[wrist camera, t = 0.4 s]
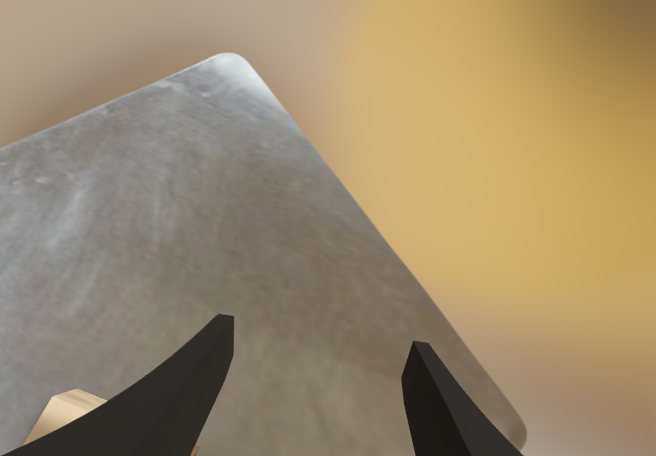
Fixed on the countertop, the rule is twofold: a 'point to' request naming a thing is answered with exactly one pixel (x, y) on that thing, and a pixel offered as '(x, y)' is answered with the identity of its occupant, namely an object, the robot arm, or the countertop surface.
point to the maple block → (63, 412)
